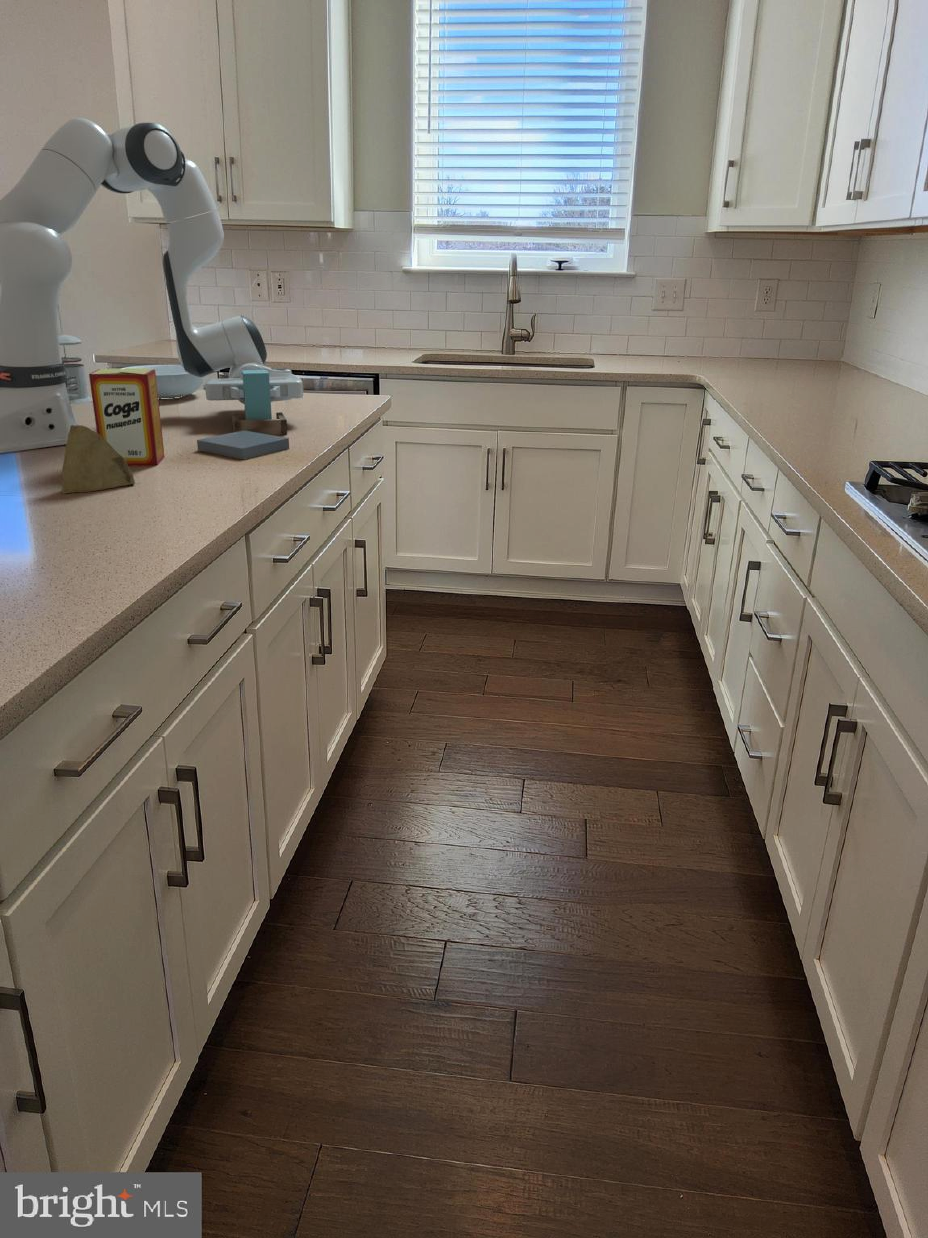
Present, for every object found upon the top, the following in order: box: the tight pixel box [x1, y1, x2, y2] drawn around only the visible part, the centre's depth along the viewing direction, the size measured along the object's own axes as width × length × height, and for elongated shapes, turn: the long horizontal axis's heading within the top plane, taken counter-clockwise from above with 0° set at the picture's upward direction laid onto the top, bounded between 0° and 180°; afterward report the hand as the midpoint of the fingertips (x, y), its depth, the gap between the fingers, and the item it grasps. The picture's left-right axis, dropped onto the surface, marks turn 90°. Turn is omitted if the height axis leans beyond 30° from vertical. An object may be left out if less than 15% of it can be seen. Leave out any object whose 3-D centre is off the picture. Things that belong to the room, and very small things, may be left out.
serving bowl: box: [120, 364, 206, 399], centre depth 225 cm, size 21×21×7 cm
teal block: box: [242, 370, 273, 420], centre depth 187 cm, size 5×5×12 cm
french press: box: [57, 293, 93, 405], centre depth 214 cm, size 10×12×25 cm
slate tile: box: [196, 430, 290, 460], centre depth 172 cm, size 12×12×2 cm
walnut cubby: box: [231, 411, 288, 436], centre depth 188 cm, size 10×9×3 cm
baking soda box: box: [88, 367, 165, 467], centre depth 159 cm, size 10×6×16 cm
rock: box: [61, 424, 136, 495], centre depth 143 cm, size 11×9×10 cm
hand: (257, 394), depth 186 cm, fingers closed on teal block, 5 cm apart
